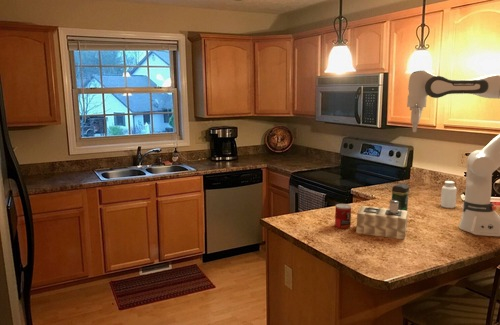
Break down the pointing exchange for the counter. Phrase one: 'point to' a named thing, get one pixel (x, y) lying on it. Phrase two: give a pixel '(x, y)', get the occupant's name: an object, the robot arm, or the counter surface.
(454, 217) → the counter surface
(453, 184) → the pill bottle
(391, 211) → the peg
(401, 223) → the socket block
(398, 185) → the coffee jar
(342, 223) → the canned food
